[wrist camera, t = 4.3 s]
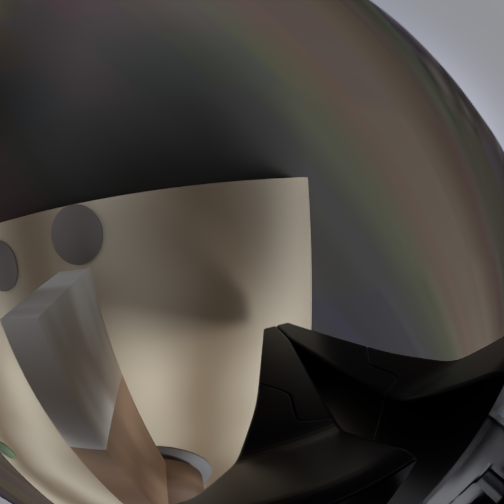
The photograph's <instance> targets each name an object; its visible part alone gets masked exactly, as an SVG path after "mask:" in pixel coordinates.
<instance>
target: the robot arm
mask: <svg viewBox="0 0 504 504" xmlns="http://www.w3.org/2000/svg"><path fill="white" fill-rule="evenodd" d="M176 504H504V337H502V338H500V339H498V340H497V341H495V342H493V343H491V344H490V345H488V346H486V347H484V348H482V349H480V350H478V351H476V352H474V353H473V354H471V355H469V356H466V357H464V358H462V359H459V360H454V361H438V360H431V359H424V358H417V357H410V356H404V355H399V354H393V353H389V352H385V351H381V350H377V349H373V348H370V347H368V348H367V347H366V346H362V345H359V344H355V343H352V342H348V341H345V340H342V339H338V338H335V337H332V336H328V335H325V334H322V333H319V332H315V331H312V330H309V329H306V328H303V327H300V326H297V325H294V324H291V323H284V324H280V325H277V327H276V326H273V327H269V328H265V329H264V332H263V343H262V354H261V365H260V375H259V386H258V394H257V400H256V406H255V409H254V413H253V417H252V420H251V423H250V426H249V429H248V432H247V435H246V438H245V440H244V443H243V446H242V449H241V451H240V454H239V456H238V458H237V460H236V462H235V463H234V465H233V466H232V467H231V468H230V469H229V470H227V471H226V472H225V473H224V474H223V475H222V476H220V477H219V478H218V479H217V480H216V481H214V482H213V483H212V484H211V485H209V486H208V487H207V488H206V489H204V490H203V491H202V492H201V493H199V494H198V495H196V496H195V497H193V498H191V499H189V500H186V501H184V502H180V503H176Z"/></svg>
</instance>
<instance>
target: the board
mask: <svg viewBox="0 0 504 504" xmlns="http://www.w3.org/2000/svg"><path fill="white" fill-rule="evenodd" d="M85 268H90V269H91V274H92V278H93V283H94V287H95V291H96V295H97V299H98V302H99V306H100V310H101V313H102V317H103V320H104V323H105V327H106V330H107V333H108V336H109V339H110V342H111V345H112V348H113V351H114V354H115V356H116V359H117V362H118V364H119V367H120V370H121V372H122V375H123V377H124V380H125V382H126V385H127V387H128V389H129V392H130V394H131V396H132V398H133V401H134V403H135V405H136V407H137V409H138V411H139V414H140V416H141V418H142V420H143V422H144V424H145V426H146V428H147V430H148V432H149V434H150V435H151V437H152V439H153V441H154V443H155V445H156V446H157V448H158V450H159V452H160V454H161V455H162V457H163V459H170V460H176V461H180V462H184V463H187V464H189V465H192V466H193V467H195V468H197V469H198V470H199V471H200V473H201V475H202V479H203V485H204V489H206V488H207V487H208V486H209V485H211V484H212V483H213V482H214V481H216V480H217V479H218V478H219V477H220V476H222V475H223V474H224V473H225V472H226V471H227V470H229V469H230V468H231V467H232V466H233V465H234V463H235V462H236V460H237V458H238V456H239V454H240V451H241V449H242V446H243V443H244V440H245V438H246V435H247V432H248V429H249V426H250V423H251V420H252V417H253V413H254V409H255V406H256V400H257V394H258V386H259V375H260V365H261V354H262V343H263V332H264V329H265V328H269V327H273V326H276V327H277V325H280V324H284V323H291V324H294V325H297V326H300V327H303V328H306V329H309V330H311V318H312V271H311V232H310V209H309V191H308V177H297V178H276V179H259V180H245V181H233V182H221V183H211V184H201V185H192V186H184V187H175V188H168V189H160V190H153V191H146V192H140V193H133V194H127V195H121V196H115V197H109V198H104V199H98V200H93V201H88V202H83V203H78V204H73V205H69V206H64V207H59V208H55V209H51V210H46V211H42V212H38V213H34V214H30V215H26V216H23V217H19V218H15V219H11V220H8V221H4V222H1V223H0V319H1V318H2V317H3V316H5V315H6V314H7V313H8V312H9V311H10V310H12V309H13V308H14V307H15V306H16V305H18V304H19V303H20V302H21V301H22V300H24V299H25V298H26V297H27V296H29V295H30V294H31V293H32V292H34V291H35V290H36V289H37V288H39V287H40V286H41V285H43V284H44V283H45V282H47V281H48V280H49V279H51V278H52V277H53V276H55V275H56V274H57V273H59V272H63V271H70V270H78V269H85ZM0 452H1V453H2V454H3V455H4V457H5V458H6V459H7V460H8V461H9V462H10V463H11V464H12V465H13V466H14V467H15V468H16V469H17V471H18V472H19V473H20V474H21V475H22V476H23V477H25V478H26V479H27V480H28V481H29V482H30V483H31V484H32V485H33V486H34V487H35V488H36V489H37V490H39V491H40V492H41V493H42V494H43V495H44V496H45V497H47V498H48V499H49V500H50V501H51V502H53V503H54V504H123V503H122V502H121V501H119V500H118V499H117V498H116V497H115V496H114V495H113V494H112V493H111V492H110V491H109V490H108V489H107V488H106V487H105V486H104V485H103V484H102V483H101V482H100V481H99V480H98V479H97V478H96V477H95V476H94V475H93V474H92V472H91V471H90V470H89V469H88V468H87V467H86V466H85V465H84V463H83V462H82V461H81V460H80V459H79V457H78V456H77V455H76V454H75V453H74V451H73V450H72V449H71V448H70V446H69V445H68V444H67V442H66V441H65V440H64V438H63V437H62V436H61V434H60V433H59V432H58V430H57V429H56V427H55V426H54V424H53V423H52V421H51V420H50V418H49V417H48V415H47V414H46V412H45V411H44V409H43V408H42V406H41V404H40V403H39V401H38V399H37V398H36V396H35V394H34V392H33V391H32V389H31V387H30V385H29V384H28V382H27V380H26V378H25V376H24V374H23V372H22V370H21V368H20V366H19V364H18V362H17V360H16V358H15V355H14V353H13V351H12V349H11V346H10V344H9V342H8V339H7V337H6V334H5V332H4V329H3V327H2V324H1V321H0Z"/></svg>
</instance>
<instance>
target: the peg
mask: <svg viewBox="0 0 504 504" xmlns="http://www.w3.org/2000/svg"><path fill="white" fill-rule="evenodd" d="M0 321H1V324H2V327H3V329H4V332H5V334H6V337H7V339H8V342H9V344H10V346H11V349H12V351H13V353H14V355H15V358H16V360H17V362H18V364H19V366H20V368H21V370H22V372H23V374H24V376H25V378H26V380H27V382H28V384H29V385H30V387H31V389H32V391H33V392H34V394H35V396H36V398H37V399H38V401H39V403H40V404H41V406H42V408H43V409H44V411H45V412H46V414H47V415H48V417H49V418H50V420H51V421H52V423H53V424H54V426H55V427H56V429H57V430H58V432H59V433H60V434H61V436H62V437H63V438H64V440H65V441H66V442H67V444H68V445H69V446H70V448H71V449H72V450H73V451H74V453H75V454H76V455H77V456H78V457H79V459H80V460H81V461H82V462H83V463H84V465H85V466H86V467H87V468H88V469H89V470H90V471H91V472H92V474H93V475H94V476H95V477H96V478H97V479H98V480H99V481H100V482H101V483H102V484H103V485H104V486H105V487H106V488H107V489H108V490H109V491H110V492H111V493H112V494H113V495H114V496H115V497H116V498H117V499H118V500H119V501H121V502H122V503H123V504H176V503H180V502H184V501H186V500H189V499H191V498H193V497H195V496H196V495H198V494H199V493H201V492H202V491H203V490H204V485H203V479H202V475H201V473H200V471H199V470H198V469H197V468H195V467H193V466H192V465H189V464H187V463H184V462H180V461H176V460H170V459H163V457H162V455H161V454H160V452H159V450H158V448H157V446H156V445H155V443H154V441H153V439H152V437H151V435H150V434H149V432H148V430H147V428H146V426H145V424H144V422H143V420H142V418H141V416H140V414H139V411H138V409H137V407H136V405H135V403H134V401H133V398H132V396H131V394H130V392H129V389H128V387H127V385H126V382H125V380H124V377H123V375H122V372H121V370H120V367H119V364H118V362H117V359H116V356H115V354H114V351H113V348H112V345H111V342H110V339H109V336H108V333H107V330H106V327H105V323H104V320H103V317H102V313H101V310H100V306H99V302H98V299H97V295H96V291H95V287H94V283H93V278H92V274H91V269H90V268H85V269H78V270H70V271H63V272H59V273H57V274H56V275H55V276H53V277H52V278H51V279H49V280H48V281H47V282H45V283H44V284H43V285H41V286H40V287H39V288H37V289H36V290H35V291H34V292H32V293H31V294H30V295H29V296H27V297H26V298H25V299H24V300H22V301H21V302H20V303H19V304H18V305H16V306H15V307H14V308H13V309H12V310H10V311H9V312H8V313H7V314H6V315H5V316H3V317H2V318H1V319H0Z"/></svg>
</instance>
